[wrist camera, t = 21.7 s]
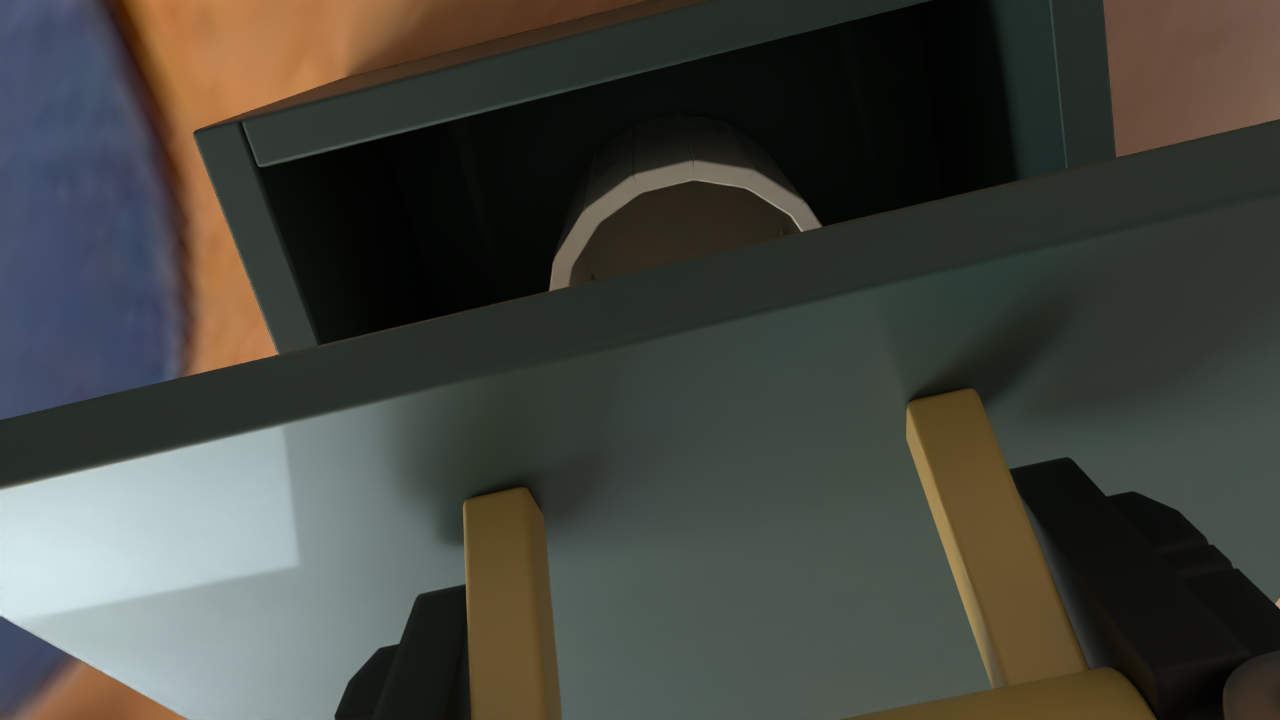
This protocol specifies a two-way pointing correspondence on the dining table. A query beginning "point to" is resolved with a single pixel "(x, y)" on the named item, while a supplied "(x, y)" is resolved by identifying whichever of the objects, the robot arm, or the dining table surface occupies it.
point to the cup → (673, 199)
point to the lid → (694, 469)
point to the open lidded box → (617, 99)
